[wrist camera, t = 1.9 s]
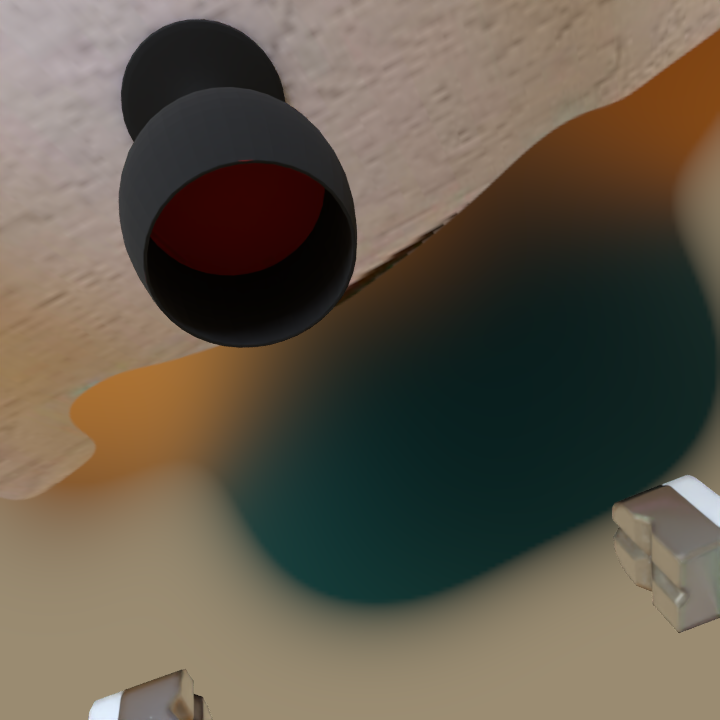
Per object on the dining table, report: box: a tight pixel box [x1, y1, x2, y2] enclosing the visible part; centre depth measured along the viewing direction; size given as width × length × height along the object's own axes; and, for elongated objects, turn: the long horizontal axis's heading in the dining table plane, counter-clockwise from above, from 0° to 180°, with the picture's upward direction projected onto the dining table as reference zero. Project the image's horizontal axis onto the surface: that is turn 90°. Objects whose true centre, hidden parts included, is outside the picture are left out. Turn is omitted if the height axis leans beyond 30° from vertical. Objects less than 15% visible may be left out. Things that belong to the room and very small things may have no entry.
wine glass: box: [119, 20, 357, 348], centre depth 32 cm, size 10×10×20 cm
